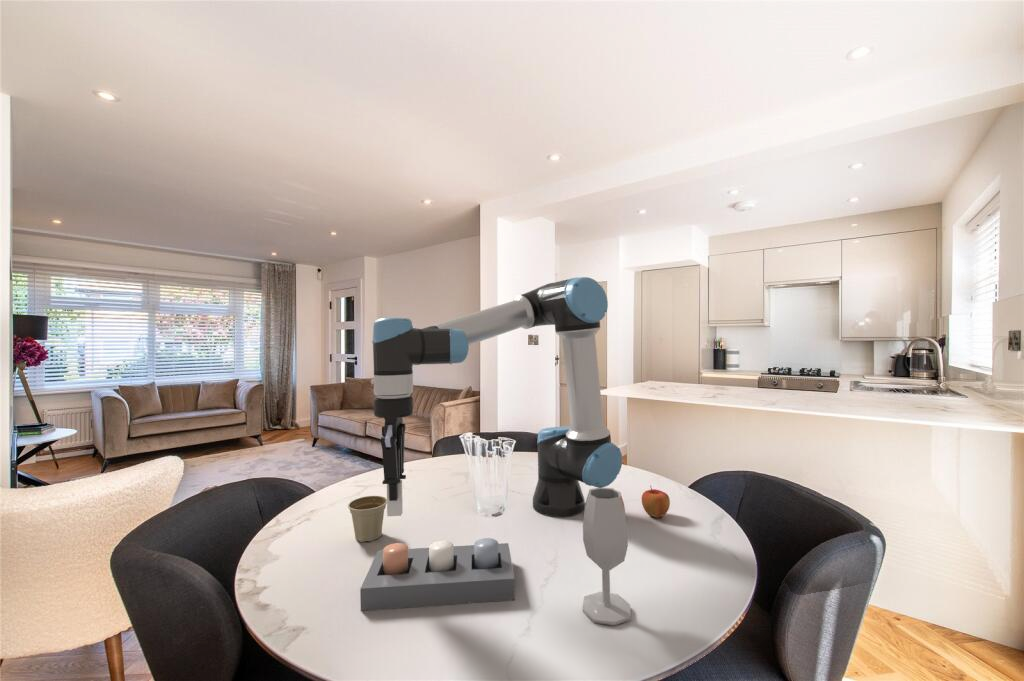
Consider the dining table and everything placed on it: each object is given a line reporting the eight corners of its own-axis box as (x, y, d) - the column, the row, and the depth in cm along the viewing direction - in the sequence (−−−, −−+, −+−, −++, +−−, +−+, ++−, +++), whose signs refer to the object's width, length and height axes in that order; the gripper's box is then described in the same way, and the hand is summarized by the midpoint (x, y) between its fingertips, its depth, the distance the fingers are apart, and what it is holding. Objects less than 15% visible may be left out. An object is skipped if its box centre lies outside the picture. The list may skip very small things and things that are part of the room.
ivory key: (454, 559, 87) (453, 539, 87) (453, 571, 82) (452, 551, 82) (430, 560, 86) (430, 541, 86) (428, 573, 82) (427, 552, 82)
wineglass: (576, 597, 79) (574, 485, 79) (621, 594, 80) (620, 483, 80) (589, 629, 70) (586, 503, 70) (639, 625, 71) (637, 500, 71)
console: (508, 561, 92) (508, 543, 92) (514, 600, 78) (514, 578, 78) (378, 569, 90) (378, 550, 90) (360, 610, 76) (360, 588, 76)
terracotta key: (409, 561, 86) (409, 542, 86) (406, 574, 81) (405, 554, 81) (386, 563, 86) (385, 543, 86) (380, 576, 81) (380, 555, 81)
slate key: (497, 556, 88) (497, 537, 88) (499, 568, 83) (498, 548, 83) (474, 558, 87) (474, 538, 87) (474, 570, 82) (474, 550, 82)
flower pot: (375, 547, 100) (375, 510, 100) (340, 544, 102) (339, 508, 102) (394, 530, 109) (394, 496, 109) (361, 527, 111) (361, 494, 111)
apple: (661, 524, 110) (660, 493, 110) (636, 516, 115) (636, 486, 115) (675, 516, 115) (674, 487, 115) (650, 508, 120) (650, 480, 120)
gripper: (381, 392, 90) (382, 503, 90) (365, 400, 77) (367, 530, 77) (417, 391, 90) (418, 501, 90) (407, 399, 77) (409, 527, 77)
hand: (394, 514), depth 83 cm, fingers closed
